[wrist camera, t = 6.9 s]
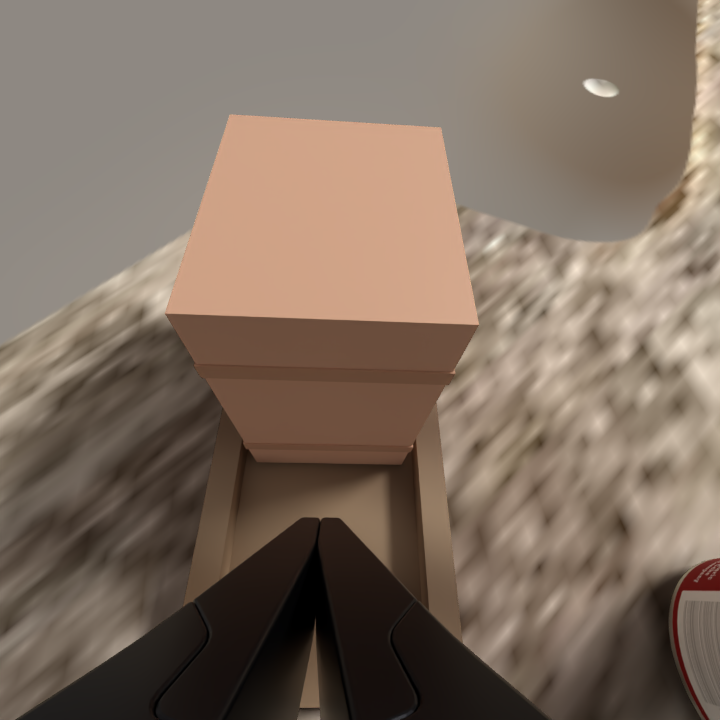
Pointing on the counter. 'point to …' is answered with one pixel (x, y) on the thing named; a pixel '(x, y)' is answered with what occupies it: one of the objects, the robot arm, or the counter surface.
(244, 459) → the bay
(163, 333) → the counter surface
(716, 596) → the soda can
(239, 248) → the pink box
